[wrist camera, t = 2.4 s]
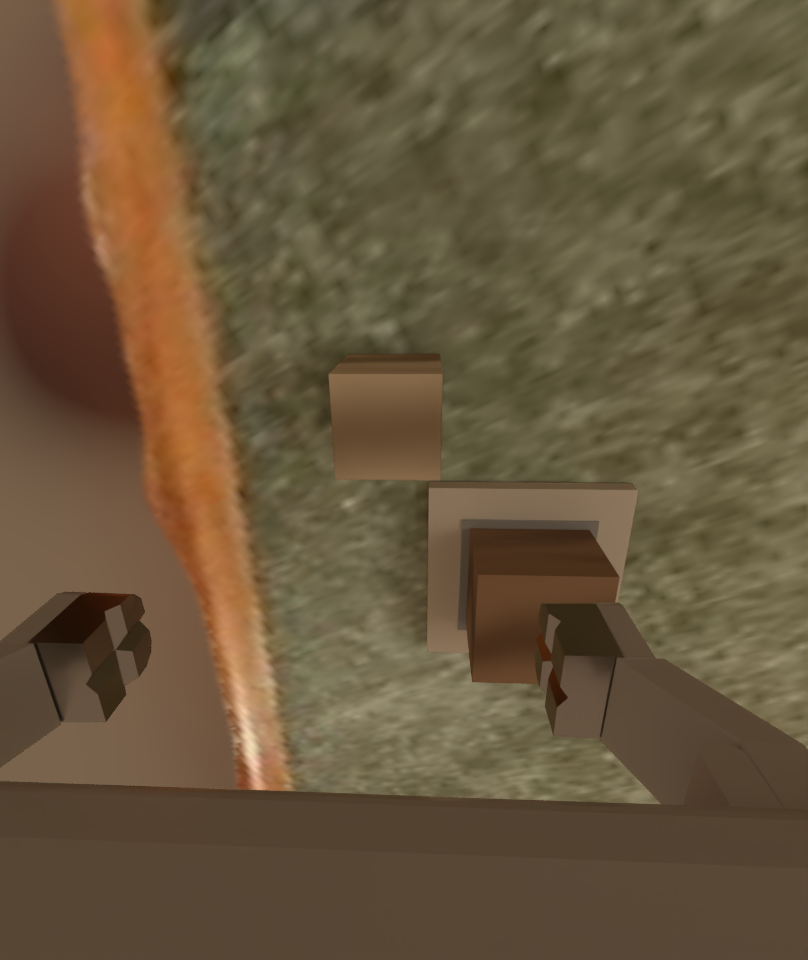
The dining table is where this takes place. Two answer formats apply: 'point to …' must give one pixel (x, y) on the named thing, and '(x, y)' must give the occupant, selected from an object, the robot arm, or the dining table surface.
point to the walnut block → (526, 593)
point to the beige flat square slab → (511, 508)
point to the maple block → (387, 416)
